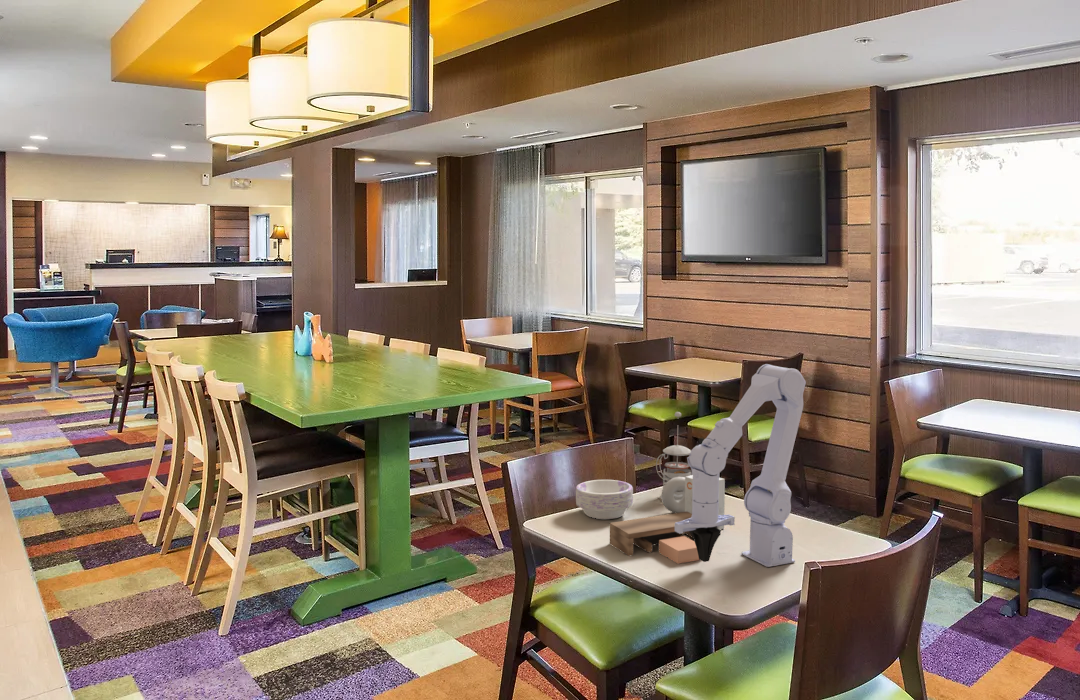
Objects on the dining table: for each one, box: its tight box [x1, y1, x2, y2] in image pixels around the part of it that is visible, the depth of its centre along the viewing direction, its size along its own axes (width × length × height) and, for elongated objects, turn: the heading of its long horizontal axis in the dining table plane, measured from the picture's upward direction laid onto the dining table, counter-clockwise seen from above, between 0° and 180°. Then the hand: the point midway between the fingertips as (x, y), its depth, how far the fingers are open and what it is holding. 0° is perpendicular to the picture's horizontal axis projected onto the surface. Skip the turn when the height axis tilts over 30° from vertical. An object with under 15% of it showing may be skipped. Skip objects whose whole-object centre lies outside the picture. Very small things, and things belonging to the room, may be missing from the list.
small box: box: [685, 474, 726, 531], centre depth 216 cm, size 8×6×13 cm
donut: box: [660, 477, 685, 514], centre depth 228 cm, size 10×4×10 cm, turn 105°
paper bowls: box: [575, 479, 634, 520], centre depth 227 cm, size 15×15×8 cm
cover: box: [658, 536, 701, 565], centre depth 196 cm, size 8×7×3 cm
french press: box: [655, 411, 692, 501], centre depth 242 cm, size 10×12×25 cm
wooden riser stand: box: [609, 512, 693, 557], centre depth 205 cm, size 9×22×5 cm, turn 114°
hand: (704, 560), depth 188 cm, fingers closed
